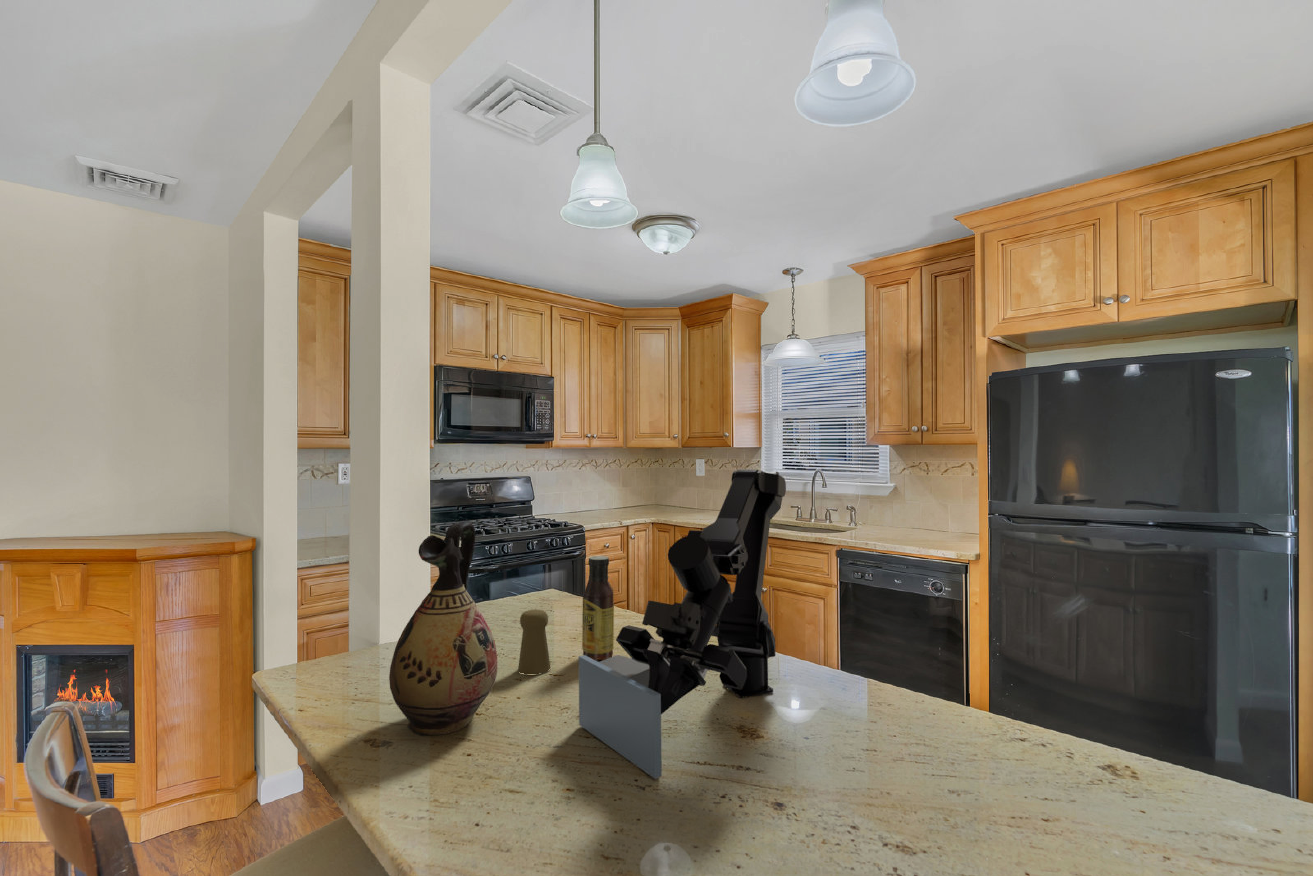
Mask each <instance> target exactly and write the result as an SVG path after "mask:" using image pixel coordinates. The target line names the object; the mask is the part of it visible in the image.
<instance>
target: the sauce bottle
mask: <svg viewBox="0 0 1313 876" xmlns="http://www.w3.org/2000/svg"><path fill="white" fill-rule="evenodd" d="M609 564H610V558H609V557H608V556H607V555H606V556H605V555H594V556H590V557H589V558H588V563H587V565H588V566H589V568H588V569H589V570H588V571H589V574H588V581H587V584H586V586H585V590H584V593H583V596H582V620H581V621H582V624H581V625H582V626H581V627H582V633H581V634H582V637H581V638H582V640H581V641H582V643H581V644H582V645H581V646H582V647H581V648H582V656H583V655H585V656H587V657H589V658H591V659H593V660H595V661H597V662H600V661H599V660H601V661H603V660H605V659H608V658H611V657H613V654H614V653H613V652H614V649H615V648H614V645H615V644H614V643H615V642H614V641H615V640H614V639H615V637H614V634H615V633H614V631H615V630H614V629H615V628H614V627H615V604H614V595H615V594H614V589H613V588H612V586H611V584H610V582H609Z"/></svg>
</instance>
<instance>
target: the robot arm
mask: <svg viewBox="0 0 1313 876" xmlns="http://www.w3.org/2000/svg"><path fill="white" fill-rule="evenodd" d="M786 491H787V483H786V478H785V477H783V476H782V475H781V474H779V472H778V471H762V470H759V469H750V468H749V469H745V468H743V469H737V470H734V471H733V472H732V474H731V484H730V487H729V489H728V491H727V494H726V496H725V499H724V500H723V503H722V505H721V508H720V510H719V512H718V515H717V517H716V520H715V521H714V522H712V523H710V524H709V525H708V526H706V527H704V528H703V529H702V530H695V529H689V531H688V533H687V535H685V536H682V537H681V538H680V539H677V540H676V541H675V542H674V543H672V545H671V546H670V547H669V549H668V552H667V559H668V562H669V565H670V566H671V568H672V570H673V572H674V574H675V575H676V577H677V579H678V581H679V583H680V585H681V587H682V588H683V589H684V590H686V593H685V594H684V597H683V599H682V601H681V603H680V602H674V603H672V604H670V603H665V602H661V601H655V600H648V601H647V604H646V608H645V610H644V611H645V612H644V615H643V619H642V623H641V624H642V625H643V626H650V627H653V628H655V629H656V630H655V634H656V635H657V636H658V637H659V638H661V639H662V640H659V639H655V638H654V637H653V636H652V635H651V633H650V632H649V631H648V629H647V628H643V627H638V626H633V625H629V624H628V625H626V626H623V627H622V628H621V629H620V631H619V632H618V634H617V636H616V638H615V641H616V642H617V644H619V645H620V647H621V648H622V649H623V651H625V652H626V653H627V654H628V657H629V658H632V659H634V660H635V661H637V662H640V663H644V664H648V665H649V685H648V688H650V689H652V690H654V691H655V692H657V693H659V694H661V715H663V714H664V713H665V712H666V711H667V710H669V709H670V708H671V707H672V706H674V705H675V704H676V703H677V702H678V701H680V699H682V698H683V697H684V696H686V695H688V694H689V693H691V692H692V691H693V690H695V689H697V687H699V686H702V687H705V686H706V683H707V681H706V680H705V678H706V675H707V673H708V671H712V672H716V673H720V674H719V675H718V677H719V680H720V682H721V684H722V686H724V688H726V689H727V690H729V691H730V692H731V693H733V695H735V696H737V697H738V698H748V697H754V696H759V695H765V694H770V693H774V688H773V687H771V686H770V685H769V663H768V662H769V660H768V659H769V658H774V657H776V647H777V646H776V637H775V634H774V632H773V630H772V628H771V624H770V622H769V613H768V612H767V611H768V610H767V608H766V607H765V604H764V602H763V600H762V592H763V585H764V584H763V583H764V576H765V575H764V574H765V569H766V568H765V567H766V560H767V559H766V558H767V551H768V550H767V549H768V543H769V533H770V525H771V521H772V519H774V517H775V516H776V514H777V513H778V512H779V511H780V510H781V507H782V503H783V498H784V497H785V495H786ZM724 575H728V576H736V577H735V584H734V590H733V592H732V589H731V584H730V583H729V581H728V579H727V578H726V577H725V576H724ZM711 637H715V638H716V639H717V645H716V644H712V643H709V642H710V640H711Z"/></svg>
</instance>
